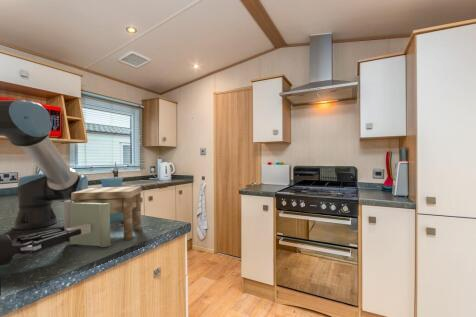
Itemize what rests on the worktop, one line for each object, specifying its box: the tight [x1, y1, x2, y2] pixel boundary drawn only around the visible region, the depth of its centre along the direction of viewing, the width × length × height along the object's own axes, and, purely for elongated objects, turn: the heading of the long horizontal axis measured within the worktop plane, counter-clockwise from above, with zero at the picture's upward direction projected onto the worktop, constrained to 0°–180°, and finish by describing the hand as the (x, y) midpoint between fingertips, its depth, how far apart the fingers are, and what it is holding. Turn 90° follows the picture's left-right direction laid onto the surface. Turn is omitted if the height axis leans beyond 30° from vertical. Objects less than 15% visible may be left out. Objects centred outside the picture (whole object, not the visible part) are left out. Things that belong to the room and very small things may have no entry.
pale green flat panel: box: [63, 200, 111, 248], centre depth 79 cm, size 17×3×15 cm, turn 79°
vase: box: [99, 177, 124, 223], centre depth 114 cm, size 8×8×20 cm
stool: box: [71, 185, 143, 241], centre depth 91 cm, size 20×14×18 cm
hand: (89, 228), depth 78 cm, fingers closed
